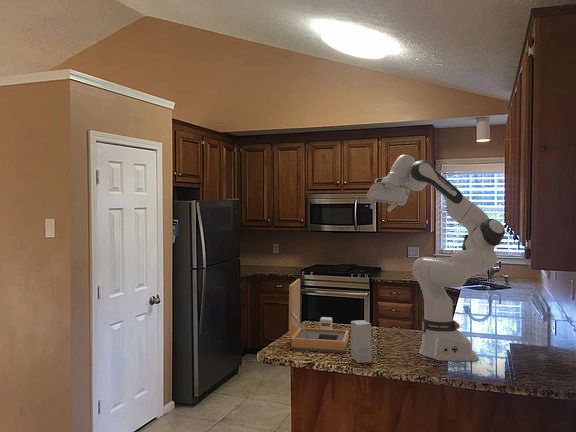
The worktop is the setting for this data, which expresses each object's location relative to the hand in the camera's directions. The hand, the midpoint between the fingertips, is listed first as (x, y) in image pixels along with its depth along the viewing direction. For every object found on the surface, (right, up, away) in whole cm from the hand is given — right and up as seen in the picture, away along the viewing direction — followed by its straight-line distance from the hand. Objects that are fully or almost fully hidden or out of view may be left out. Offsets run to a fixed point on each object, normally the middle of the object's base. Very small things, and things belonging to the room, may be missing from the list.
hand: (380, 209), depth 234 cm
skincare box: (-13, -59, -33) cm, 69 cm away
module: (-24, -58, +6) cm, 63 cm away
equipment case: (-27, -58, -12) cm, 65 cm away
